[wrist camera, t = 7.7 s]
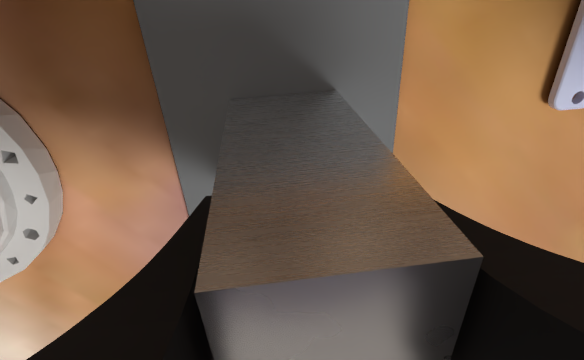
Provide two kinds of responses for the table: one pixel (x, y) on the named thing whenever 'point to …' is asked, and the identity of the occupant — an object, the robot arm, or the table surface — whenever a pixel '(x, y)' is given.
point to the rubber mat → (266, 65)
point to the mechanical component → (25, 194)
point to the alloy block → (325, 242)
